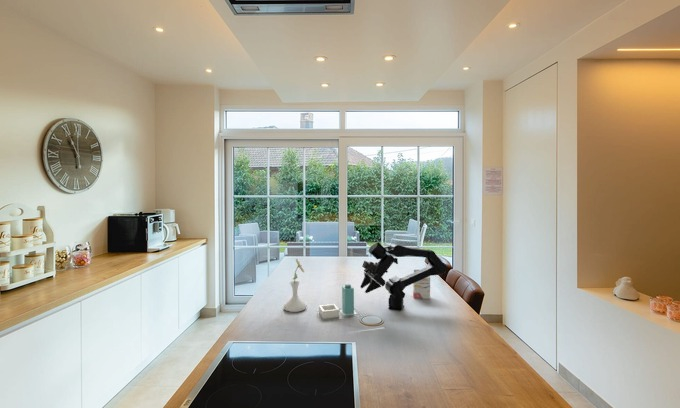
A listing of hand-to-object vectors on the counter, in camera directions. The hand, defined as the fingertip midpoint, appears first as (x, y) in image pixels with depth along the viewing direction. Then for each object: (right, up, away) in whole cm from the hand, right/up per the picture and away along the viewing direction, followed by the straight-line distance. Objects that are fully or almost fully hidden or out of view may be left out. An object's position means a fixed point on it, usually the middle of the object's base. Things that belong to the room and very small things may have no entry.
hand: (363, 290), depth 165 cm
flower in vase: (-33, -11, +4) cm, 35 cm away
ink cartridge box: (+33, -9, +20) cm, 40 cm away
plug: (-7, -10, -2) cm, 13 cm away
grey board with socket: (-12, -11, -4) cm, 17 cm away
